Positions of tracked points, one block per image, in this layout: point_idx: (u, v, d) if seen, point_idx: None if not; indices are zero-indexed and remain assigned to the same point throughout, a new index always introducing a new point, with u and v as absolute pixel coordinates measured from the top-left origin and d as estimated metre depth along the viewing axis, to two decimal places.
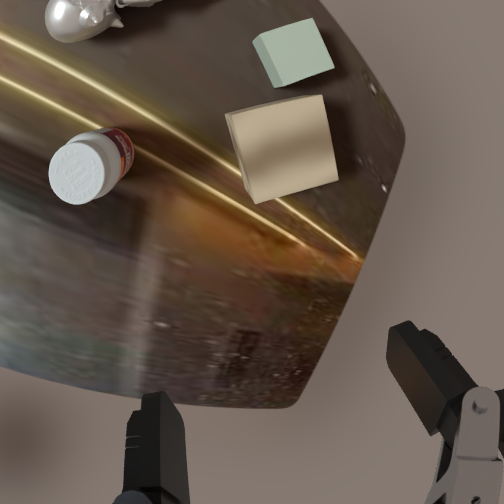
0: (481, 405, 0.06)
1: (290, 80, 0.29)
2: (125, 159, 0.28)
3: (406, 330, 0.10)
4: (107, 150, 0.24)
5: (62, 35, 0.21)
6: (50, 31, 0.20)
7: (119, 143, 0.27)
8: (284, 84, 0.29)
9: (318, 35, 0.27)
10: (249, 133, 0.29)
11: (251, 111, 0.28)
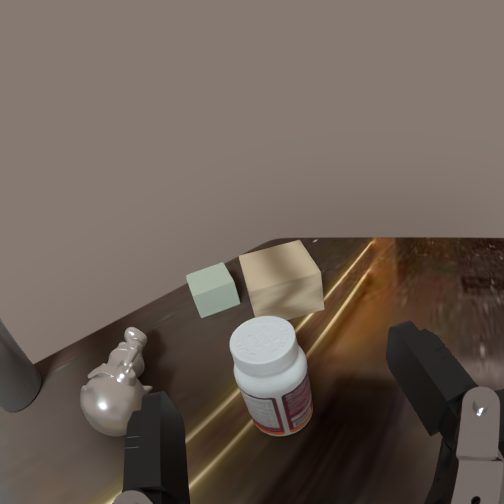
0: (481, 405, 0.06)
1: (229, 279, 0.45)
2: None
3: (406, 330, 0.10)
4: None
5: (125, 405, 0.27)
6: (113, 414, 0.26)
7: None
8: (232, 281, 0.45)
9: (198, 271, 0.49)
10: (264, 281, 0.40)
11: (247, 283, 0.40)
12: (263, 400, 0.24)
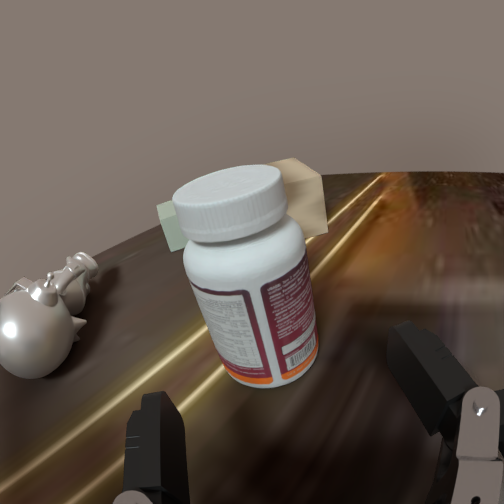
0: (481, 405, 0.06)
1: None
2: None
3: (406, 330, 0.10)
4: None
5: (30, 327, 0.18)
6: (13, 338, 0.17)
7: None
8: None
9: None
10: None
11: None
12: (228, 296, 0.14)
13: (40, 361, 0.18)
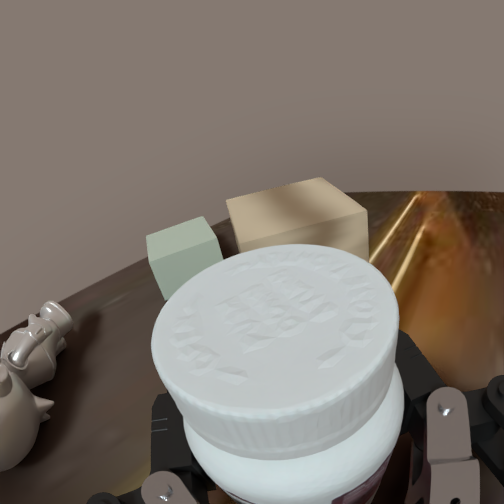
0: (446, 406, 0.07)
1: (210, 235, 0.28)
2: None
3: None
4: None
5: None
6: None
7: None
8: (215, 238, 0.27)
9: (165, 229, 0.31)
10: (267, 228, 0.22)
11: (237, 231, 0.23)
12: None
13: None
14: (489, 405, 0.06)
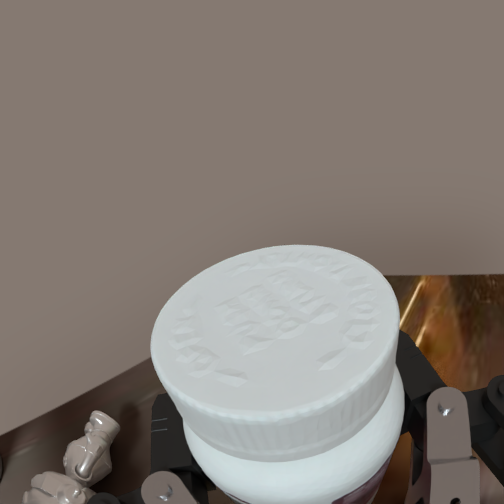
0: (446, 406, 0.07)
1: None
2: None
3: None
4: None
5: None
6: None
7: None
8: None
9: None
10: None
11: None
12: None
13: None
14: (489, 405, 0.06)
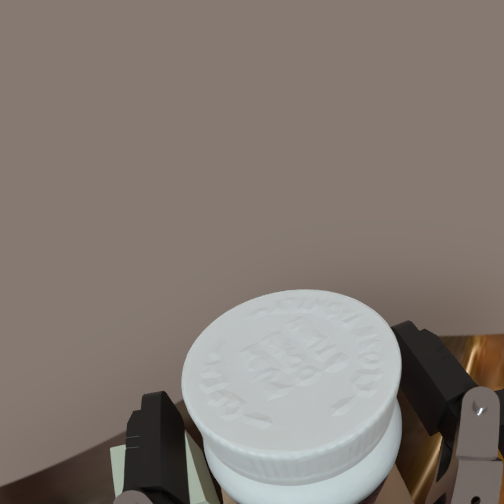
0: (481, 405, 0.06)
1: (196, 490, 0.15)
2: None
3: (406, 330, 0.10)
4: None
5: None
6: None
7: None
8: (203, 500, 0.15)
9: None
10: None
11: None
12: None
13: None
14: None
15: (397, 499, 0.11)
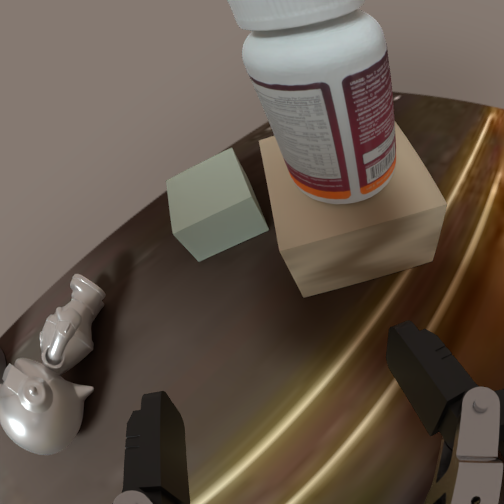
0: (481, 405, 0.06)
1: (243, 190, 0.22)
2: None
3: (406, 330, 0.10)
4: None
5: (33, 440, 0.15)
6: (22, 446, 0.15)
7: None
8: (249, 196, 0.21)
9: (188, 170, 0.25)
10: (316, 220, 0.16)
11: (276, 221, 0.17)
12: (303, 92, 0.11)
13: (54, 453, 0.17)
14: None
15: (418, 174, 0.16)
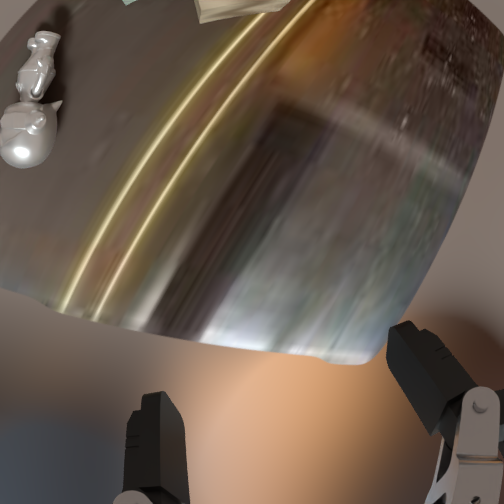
0: (481, 405, 0.06)
1: None
2: None
3: (406, 330, 0.10)
4: None
5: (39, 154, 0.27)
6: (30, 164, 0.27)
7: None
8: None
9: None
10: None
11: None
12: None
13: None
14: None
15: None
